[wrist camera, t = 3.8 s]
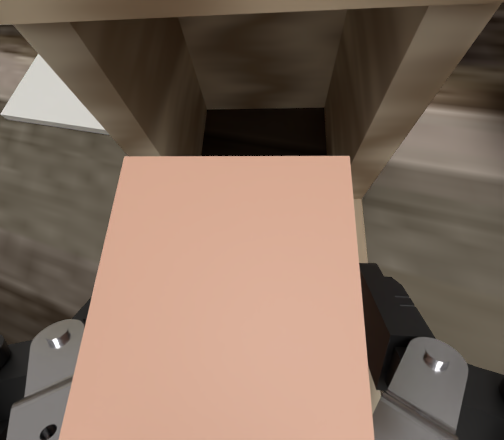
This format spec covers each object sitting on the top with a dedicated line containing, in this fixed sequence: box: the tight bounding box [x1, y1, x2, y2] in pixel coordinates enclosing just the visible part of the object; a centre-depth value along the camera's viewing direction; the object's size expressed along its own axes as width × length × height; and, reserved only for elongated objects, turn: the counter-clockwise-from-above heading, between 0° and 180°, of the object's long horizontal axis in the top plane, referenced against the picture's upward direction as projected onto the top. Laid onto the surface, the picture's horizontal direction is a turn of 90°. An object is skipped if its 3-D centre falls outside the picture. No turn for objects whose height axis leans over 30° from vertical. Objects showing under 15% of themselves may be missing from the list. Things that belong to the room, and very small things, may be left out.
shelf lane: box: [0, 0, 504, 414], centre depth 12 cm, size 12×22×14 cm, turn 177°
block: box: [59, 156, 374, 440], centre depth 11 cm, size 5×6×12 cm
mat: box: [0, 54, 109, 135], centre depth 24 cm, size 11×11×1 cm
